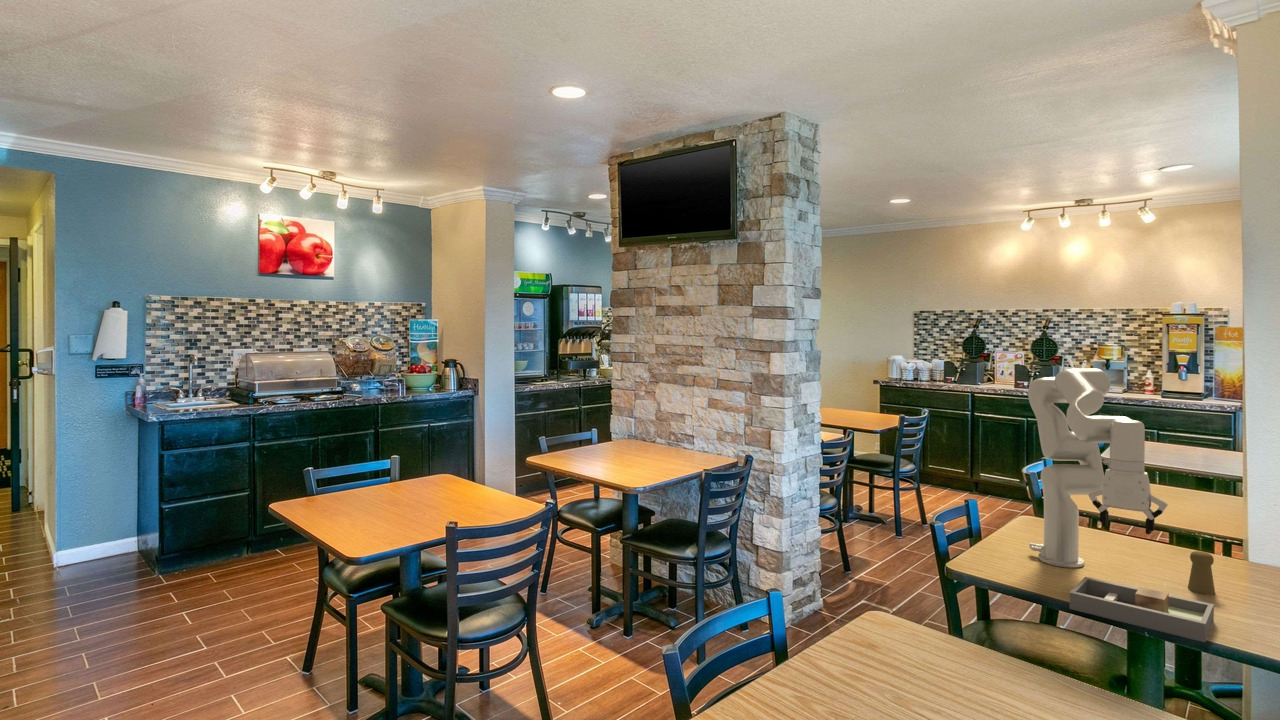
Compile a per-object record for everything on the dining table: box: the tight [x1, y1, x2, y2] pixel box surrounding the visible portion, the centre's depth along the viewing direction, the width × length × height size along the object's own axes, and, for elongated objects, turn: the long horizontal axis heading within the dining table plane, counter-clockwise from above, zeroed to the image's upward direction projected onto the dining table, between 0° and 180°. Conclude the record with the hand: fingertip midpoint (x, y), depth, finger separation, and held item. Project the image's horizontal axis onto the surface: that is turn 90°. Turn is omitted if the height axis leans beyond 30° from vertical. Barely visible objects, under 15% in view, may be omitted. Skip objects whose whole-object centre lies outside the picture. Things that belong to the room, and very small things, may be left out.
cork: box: [1187, 550, 1216, 596], centre depth 189 cm, size 6×6×11 cm
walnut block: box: [1135, 586, 1170, 613], centre depth 172 cm, size 6×6×4 cm
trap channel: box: [1069, 576, 1215, 643], centre depth 174 cm, size 28×16×4 cm, turn 44°
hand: (1126, 529), depth 178 cm, fingers open, 9 cm apart
